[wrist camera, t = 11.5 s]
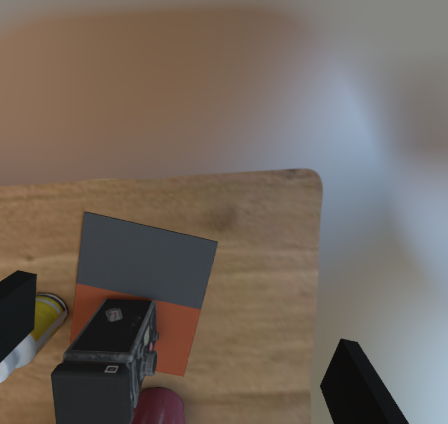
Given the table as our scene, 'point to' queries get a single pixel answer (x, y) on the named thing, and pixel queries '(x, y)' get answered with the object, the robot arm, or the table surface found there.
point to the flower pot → (158, 407)
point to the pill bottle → (36, 333)
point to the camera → (107, 364)
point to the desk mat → (145, 279)
